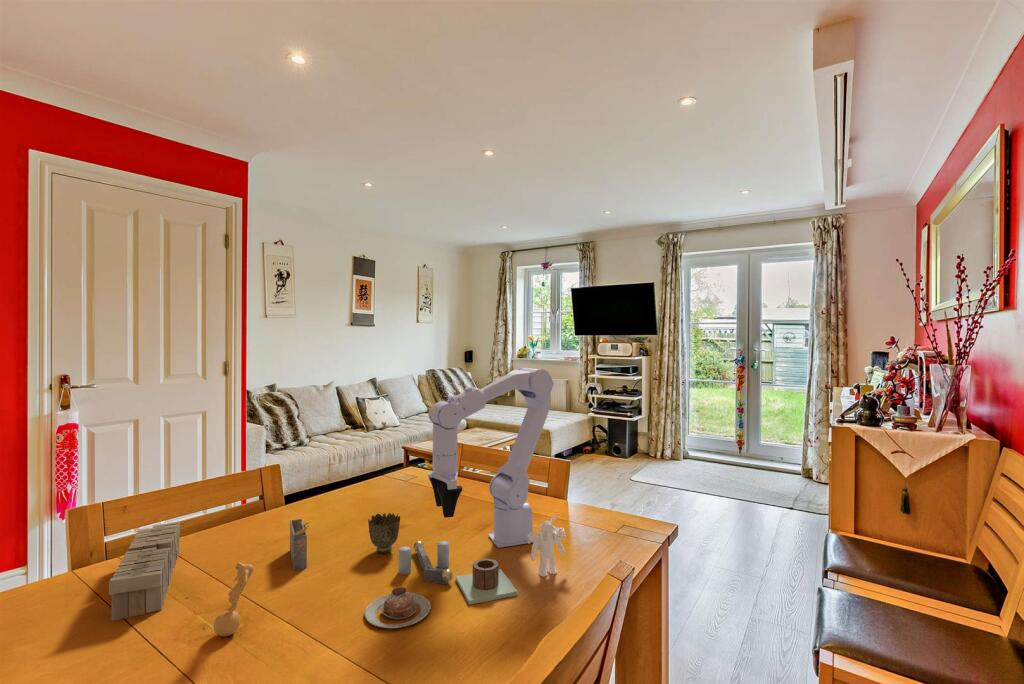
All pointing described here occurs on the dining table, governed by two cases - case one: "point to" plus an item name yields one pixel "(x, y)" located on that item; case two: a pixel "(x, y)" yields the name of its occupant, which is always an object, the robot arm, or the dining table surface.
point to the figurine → (233, 603)
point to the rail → (431, 567)
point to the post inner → (443, 554)
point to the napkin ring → (485, 574)
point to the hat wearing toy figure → (547, 545)
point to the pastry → (397, 608)
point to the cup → (384, 531)
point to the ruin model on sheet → (298, 544)
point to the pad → (478, 595)
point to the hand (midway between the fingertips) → (444, 511)
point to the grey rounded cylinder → (404, 560)
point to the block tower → (145, 571)
